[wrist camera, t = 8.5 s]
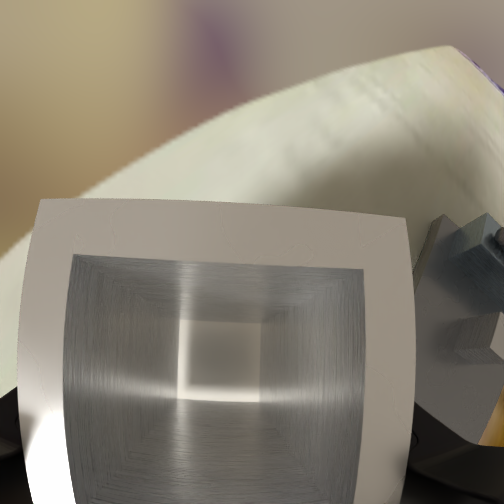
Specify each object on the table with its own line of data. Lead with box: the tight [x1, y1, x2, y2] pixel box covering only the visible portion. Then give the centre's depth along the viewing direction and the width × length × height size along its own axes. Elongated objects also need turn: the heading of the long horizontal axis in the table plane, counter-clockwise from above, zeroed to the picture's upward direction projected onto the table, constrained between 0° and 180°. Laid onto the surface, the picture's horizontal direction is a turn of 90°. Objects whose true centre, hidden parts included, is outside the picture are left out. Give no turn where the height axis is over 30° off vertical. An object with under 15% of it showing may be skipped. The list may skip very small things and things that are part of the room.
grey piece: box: [412, 213, 504, 444], centre depth 15 cm, size 14×12×6 cm
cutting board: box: [177, 320, 261, 402], centre depth 15 cm, size 16×14×2 cm
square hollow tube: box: [17, 199, 416, 504], centre depth 8 cm, size 5×5×11 cm
